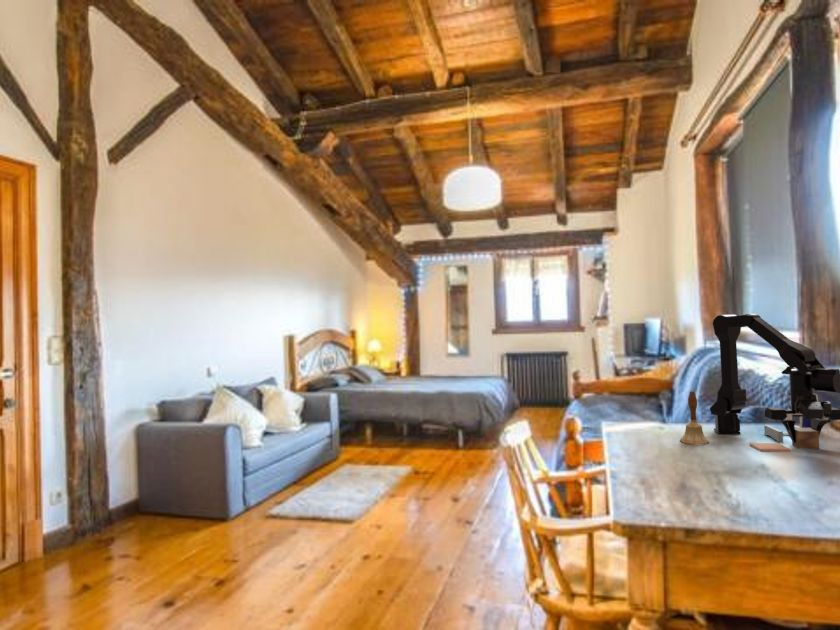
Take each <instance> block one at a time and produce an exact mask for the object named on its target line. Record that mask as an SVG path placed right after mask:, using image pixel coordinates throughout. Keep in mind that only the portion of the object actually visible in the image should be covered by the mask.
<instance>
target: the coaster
mask: <svg viewBox="0 0 840 630" xmlns="http://www.w3.org/2000/svg"><path fill="white" fill-rule="evenodd" d="M749 446H751V447H752V446H753V448H754V447H755V448H754V449H755V450H757V449H758V450H757V451H759V450H760V451H759V452H790V453H791V452H792V449H791V448H789V447H787V446H786V445H784V444H781V443H780V442H779V443H778V442H749Z"/></svg>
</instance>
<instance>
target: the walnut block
mask: <svg viewBox="0 0 840 630" xmlns="http://www.w3.org/2000/svg"><path fill="white" fill-rule="evenodd" d="M795 436H796V443H794V442H792V441H791V443H792V445H793V446H794V447H796V448H798V449H804V450H805V449H806V450H807V449H815V450H817V449H818V450H819V449H820V434H819V431H816V430H814V429H811V428H795Z"/></svg>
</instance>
